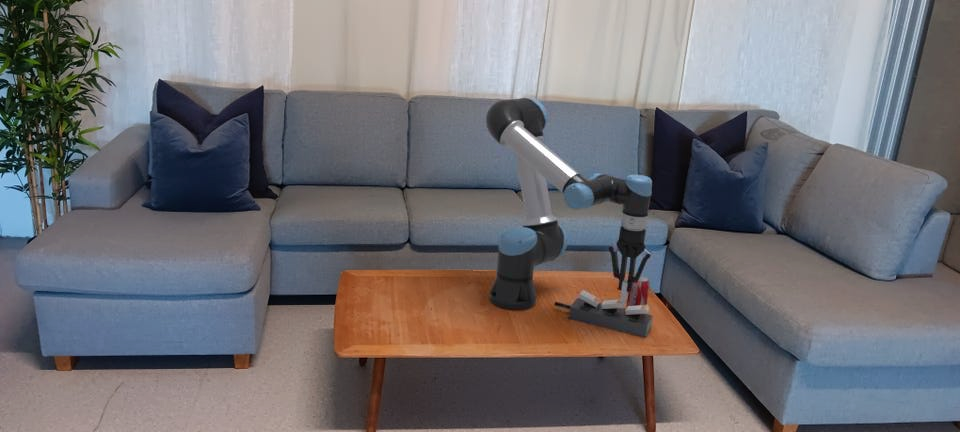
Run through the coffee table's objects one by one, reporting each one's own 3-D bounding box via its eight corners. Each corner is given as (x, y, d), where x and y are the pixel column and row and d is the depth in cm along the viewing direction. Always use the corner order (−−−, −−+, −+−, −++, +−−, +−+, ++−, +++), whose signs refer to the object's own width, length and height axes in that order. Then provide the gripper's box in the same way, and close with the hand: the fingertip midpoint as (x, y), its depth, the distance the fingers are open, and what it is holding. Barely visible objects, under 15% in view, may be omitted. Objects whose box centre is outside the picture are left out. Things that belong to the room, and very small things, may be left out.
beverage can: (645, 318, 229) (650, 283, 225) (625, 315, 230) (630, 280, 226) (645, 310, 235) (650, 275, 231) (625, 307, 236) (630, 273, 232)
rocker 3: (626, 314, 220) (625, 310, 220) (628, 310, 223) (627, 305, 223) (646, 313, 217) (645, 308, 217) (649, 309, 220) (648, 304, 220)
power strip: (550, 314, 227) (551, 300, 225) (558, 304, 234) (559, 291, 232) (645, 337, 215) (647, 323, 214) (651, 327, 222) (653, 313, 221)
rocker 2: (602, 308, 223) (601, 304, 223) (605, 304, 226) (604, 300, 226) (622, 307, 220) (621, 303, 220) (625, 303, 223) (624, 299, 223)
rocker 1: (578, 297, 225) (579, 293, 225) (581, 293, 229) (583, 289, 228) (596, 307, 224) (598, 303, 223) (599, 303, 227) (601, 299, 226)
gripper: (608, 226, 213) (599, 300, 220) (652, 234, 209) (641, 309, 216) (614, 220, 220) (605, 291, 227) (657, 228, 215) (647, 301, 222)
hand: (623, 300), depth 221 cm, fingers closed
